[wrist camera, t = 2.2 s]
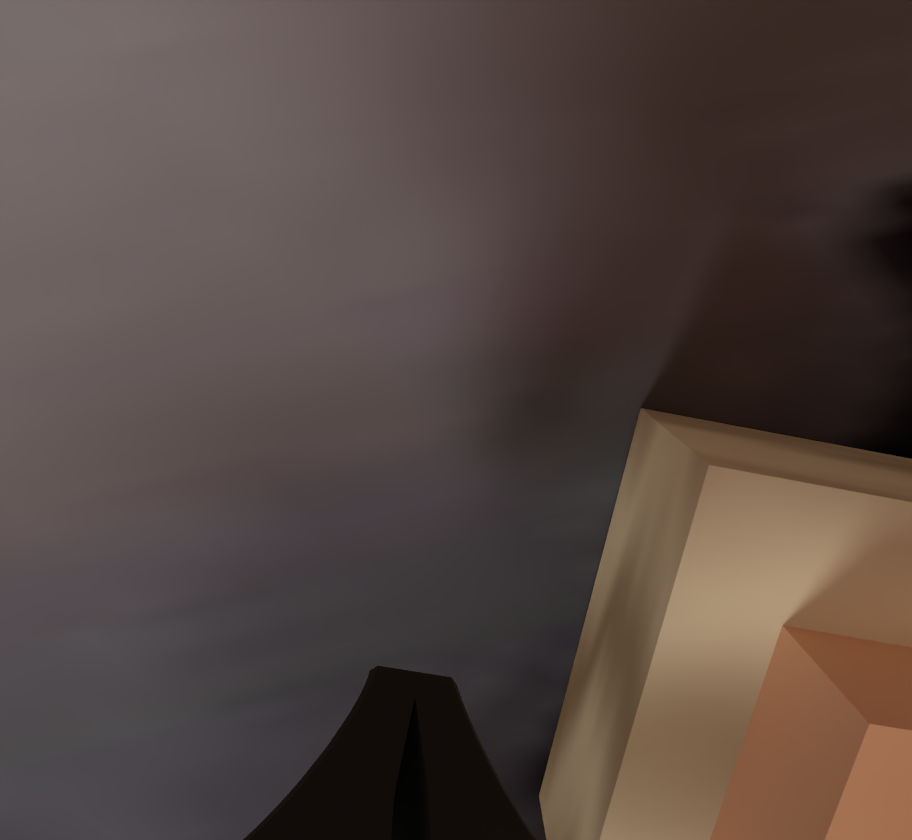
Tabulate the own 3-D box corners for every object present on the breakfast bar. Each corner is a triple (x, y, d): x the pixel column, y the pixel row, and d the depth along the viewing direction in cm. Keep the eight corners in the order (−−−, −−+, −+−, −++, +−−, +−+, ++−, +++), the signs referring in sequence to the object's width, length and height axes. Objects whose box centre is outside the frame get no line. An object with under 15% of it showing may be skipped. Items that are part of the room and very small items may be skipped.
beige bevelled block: (883, 848, 18) (1004, 1015, 14) (538, 795, 17) (565, 955, 13) (1034, 481, 16) (1230, 561, 12) (640, 407, 15) (708, 464, 11)
